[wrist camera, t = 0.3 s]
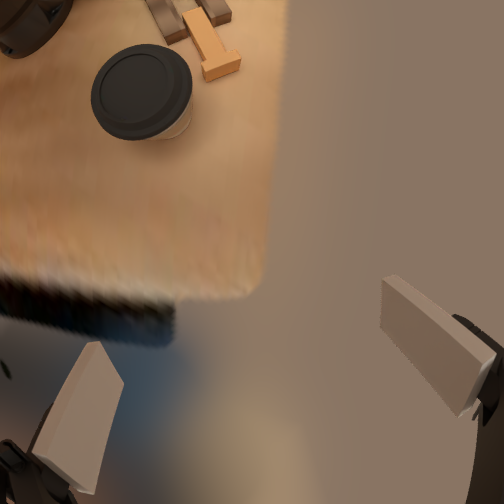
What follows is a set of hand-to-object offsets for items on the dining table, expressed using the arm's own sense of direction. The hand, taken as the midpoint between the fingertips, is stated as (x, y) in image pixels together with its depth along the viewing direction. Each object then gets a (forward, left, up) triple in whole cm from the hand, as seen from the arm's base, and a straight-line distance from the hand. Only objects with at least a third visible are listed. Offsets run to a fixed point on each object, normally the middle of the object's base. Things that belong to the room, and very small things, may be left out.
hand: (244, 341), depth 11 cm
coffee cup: (-16, -1, -26) cm, 31 cm away
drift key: (-23, +8, -26) cm, 35 cm away
